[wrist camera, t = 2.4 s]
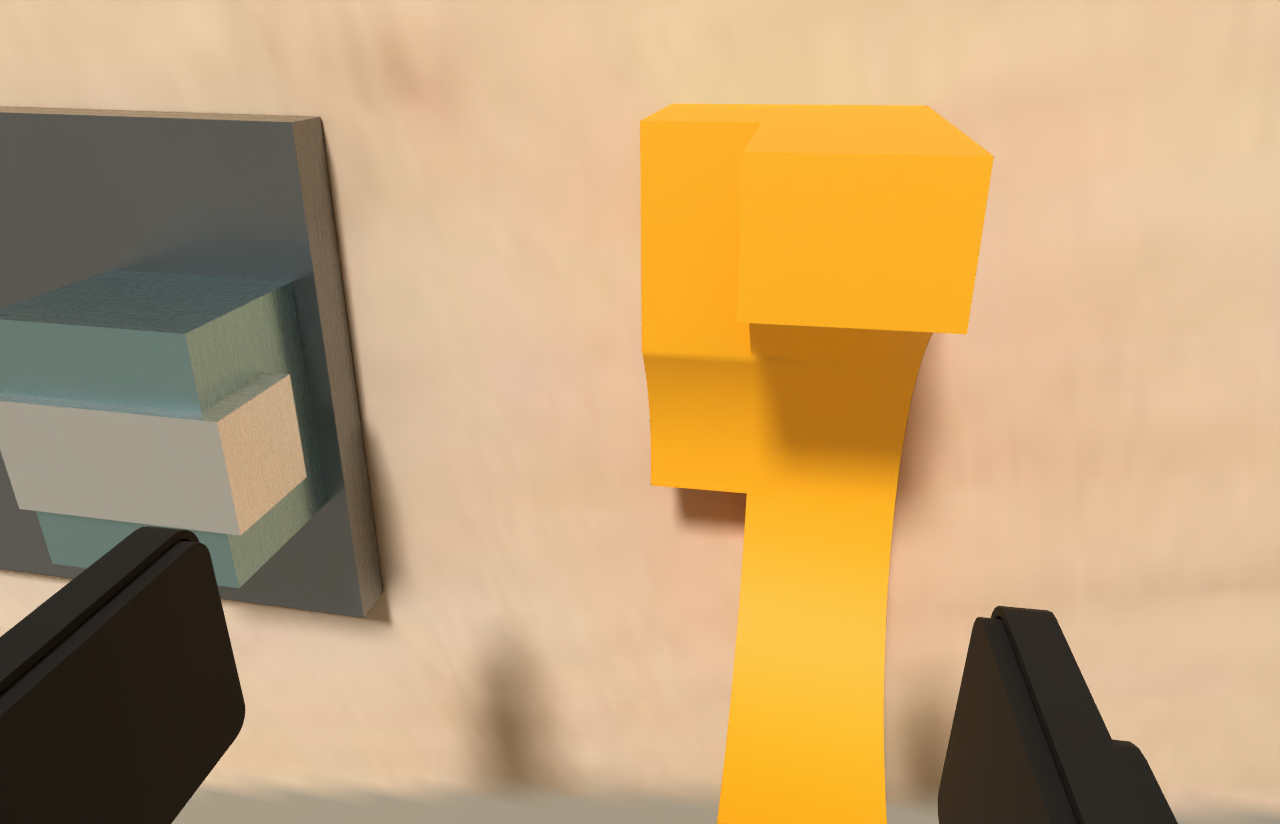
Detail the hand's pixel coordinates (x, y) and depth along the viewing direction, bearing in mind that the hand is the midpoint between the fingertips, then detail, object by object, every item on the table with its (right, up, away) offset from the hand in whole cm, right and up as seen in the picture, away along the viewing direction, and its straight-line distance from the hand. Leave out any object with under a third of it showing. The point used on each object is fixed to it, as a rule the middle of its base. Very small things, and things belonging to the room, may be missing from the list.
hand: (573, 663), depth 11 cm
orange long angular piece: (+4, +3, +7) cm, 9 cm away
